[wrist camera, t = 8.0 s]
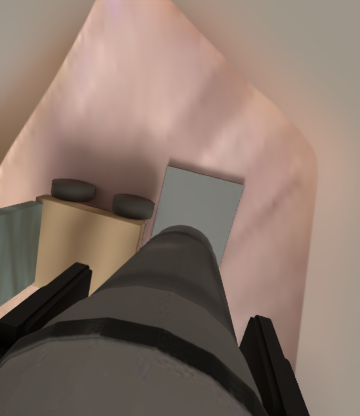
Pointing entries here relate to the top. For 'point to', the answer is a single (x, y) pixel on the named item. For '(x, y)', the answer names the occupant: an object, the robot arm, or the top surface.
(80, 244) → the trolley
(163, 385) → the beverage cup
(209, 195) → the mat
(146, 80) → the top surface
